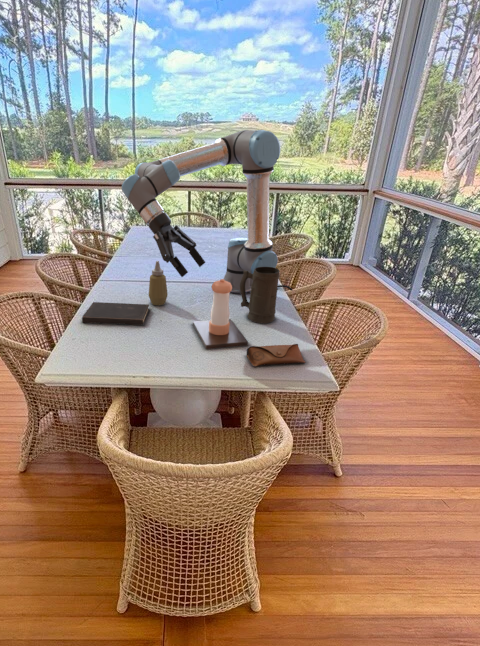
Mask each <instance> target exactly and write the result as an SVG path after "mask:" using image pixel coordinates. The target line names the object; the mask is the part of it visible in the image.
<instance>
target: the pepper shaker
mask: <svg viewBox="0 0 480 646" xmlns="http://www.w3.org/2000/svg"><path fill="white" fill-rule="evenodd" d="M211 290H212V292H213V294H212V295H213V296H212V305H211V310H210V319H209V320H210V322H209V332H210V333H212V334H214V335H225V334H228V333H229V325H230V323H229V319H230V314H231V313H230V293H231V290H232V285H231V283H230V282H228V281H225V280H224V278H221V279H220V280H215V281H213V283H212V284H211Z"/></svg>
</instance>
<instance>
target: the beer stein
mask: <svg viewBox="0 0 480 646" xmlns="http://www.w3.org/2000/svg"><path fill="white" fill-rule="evenodd" d="M280 272H281V271H280V270H279V269H278V268H277V267H276V268H273V267H257V268H255V269H254V272H253V274H252V273H249V272H248V271H244V272H243V277H242V279H241V282H240V292H241V294H240V296H241V302H240V307H242V308H244V307H246V308H247V309H248V314H247V319H248V320H250V321H251V322H253V323H257V324H271V323H273V322H274V321H275V320H276V315H275V314H276V306H277V296H278V288H279V287H278V285H279V278H280V276H281V273H280ZM248 278H251V279H252V286H251V292H249V301H248V297H247V293H246V292H245V283H246V280H247V279H248Z"/></svg>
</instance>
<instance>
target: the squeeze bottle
mask: <svg viewBox="0 0 480 646" xmlns="http://www.w3.org/2000/svg"><path fill="white" fill-rule="evenodd" d="M148 298H149V301H150V303H151V305H153V306H163V305H165V304H166V301H167V299H168V285H167V276H166V275H165V274H164V269H163V268H161V264H160V260H156V261H155V264H154V268H152V270H151V275H149V283H148Z"/></svg>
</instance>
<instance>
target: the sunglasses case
mask: <svg viewBox="0 0 480 646" xmlns="http://www.w3.org/2000/svg"><path fill="white" fill-rule="evenodd" d="M246 358H247V360H248V362H249V363H250V364H251V365H252V367H254V368H255V367H263V366H280V365H282V366H283V365H297V364H305V363H307V362H306V361H305V359H304V357H303V354H302V352H301V350H300V346H299V343H293V344H273V345H261V346H260V345H259V346H258V345H251V346H249V347H247V349H246Z"/></svg>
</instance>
